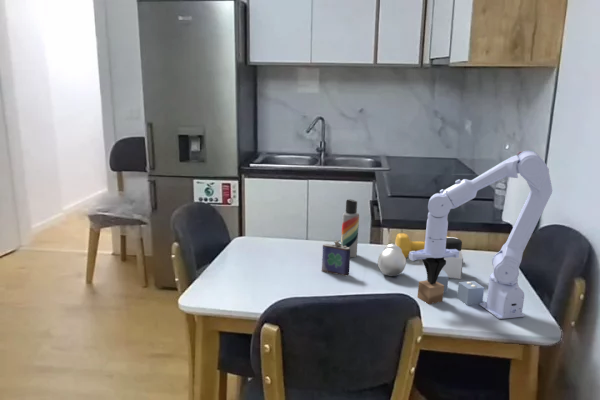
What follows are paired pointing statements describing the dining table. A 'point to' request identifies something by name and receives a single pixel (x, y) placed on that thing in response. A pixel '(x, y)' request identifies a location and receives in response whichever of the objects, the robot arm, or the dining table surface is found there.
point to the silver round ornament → (392, 260)
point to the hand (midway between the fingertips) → (431, 282)
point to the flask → (336, 258)
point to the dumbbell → (408, 244)
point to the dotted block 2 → (470, 292)
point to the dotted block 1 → (443, 279)
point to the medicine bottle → (453, 259)
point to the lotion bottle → (350, 227)
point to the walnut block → (430, 292)
